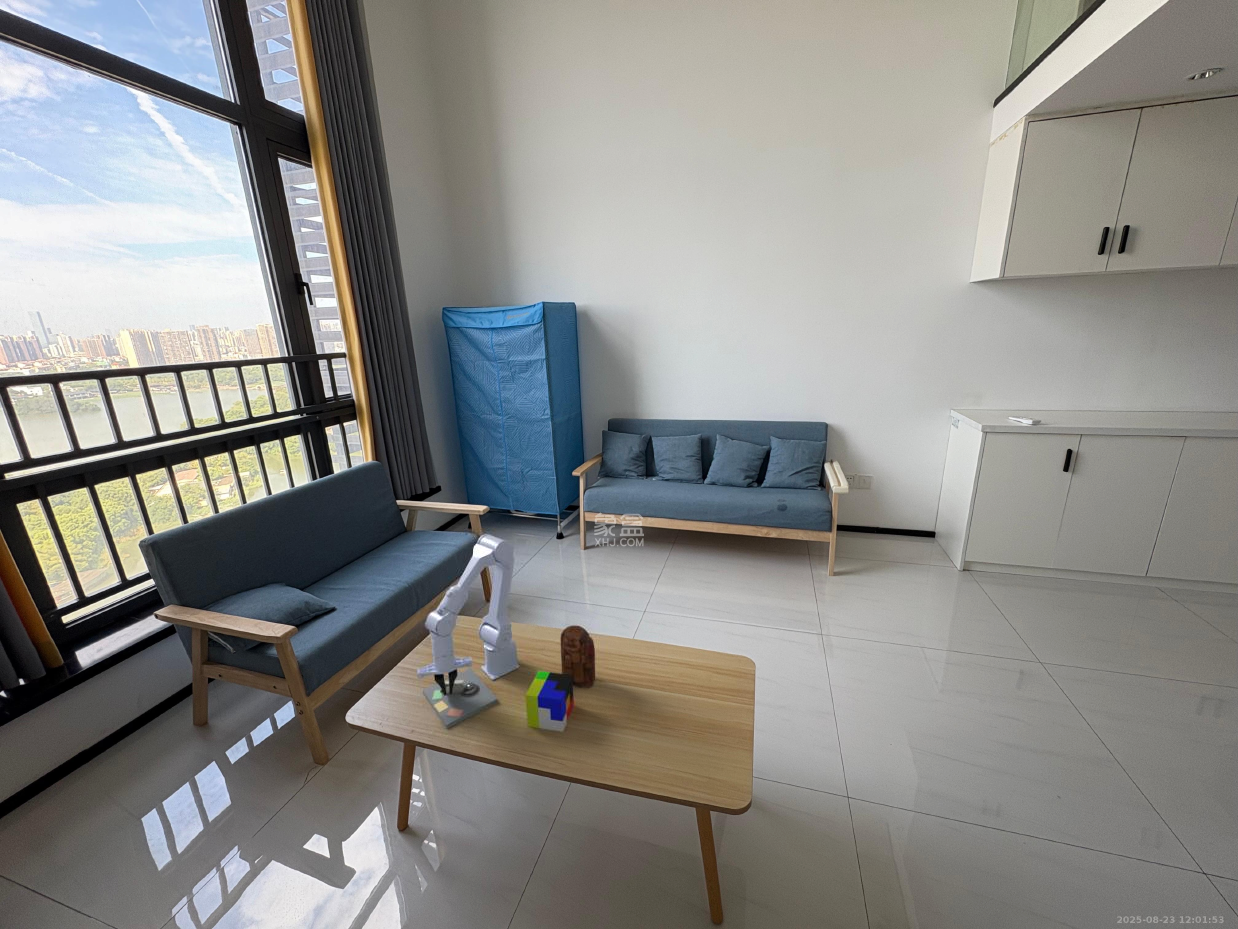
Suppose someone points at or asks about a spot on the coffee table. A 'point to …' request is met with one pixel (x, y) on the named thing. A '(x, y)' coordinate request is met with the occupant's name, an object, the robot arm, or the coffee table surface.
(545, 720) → the puzzle toy
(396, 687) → the coffee table surface
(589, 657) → the wooden figurine
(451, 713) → the tuner board
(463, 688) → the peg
